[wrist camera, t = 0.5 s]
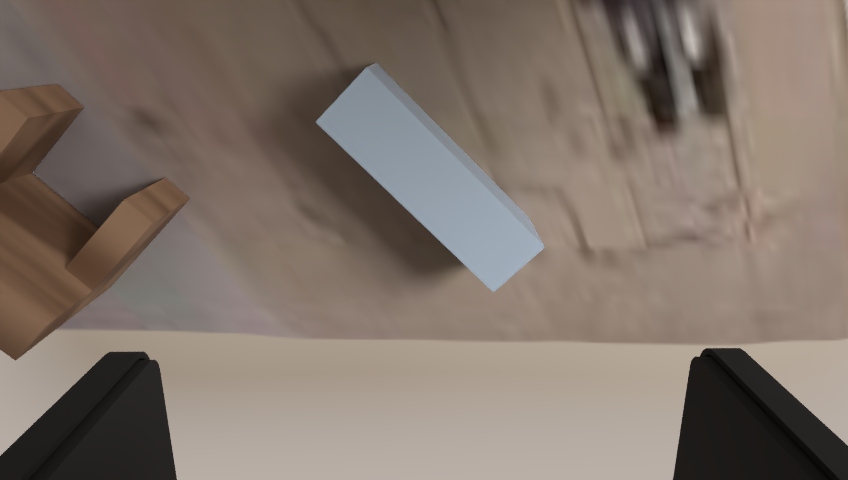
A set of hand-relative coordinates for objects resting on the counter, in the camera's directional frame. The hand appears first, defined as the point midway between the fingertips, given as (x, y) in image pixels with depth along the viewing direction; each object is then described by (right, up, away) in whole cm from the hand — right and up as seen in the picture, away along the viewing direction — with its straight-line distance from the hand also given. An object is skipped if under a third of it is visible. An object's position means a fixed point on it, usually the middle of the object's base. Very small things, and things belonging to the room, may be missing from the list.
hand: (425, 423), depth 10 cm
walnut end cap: (-22, +6, +29) cm, 37 cm away
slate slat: (+1, +8, +28) cm, 29 cm away
